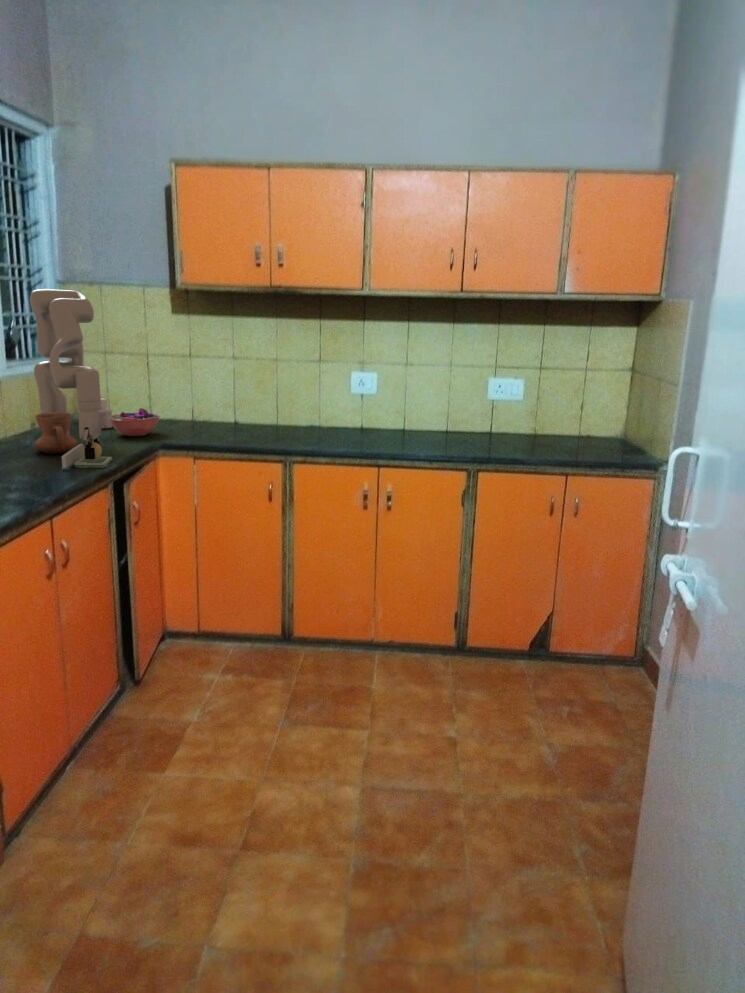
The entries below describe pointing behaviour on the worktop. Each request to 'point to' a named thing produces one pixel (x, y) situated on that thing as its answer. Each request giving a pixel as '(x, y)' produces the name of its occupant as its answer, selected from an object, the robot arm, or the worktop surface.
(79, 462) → the tray
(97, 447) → the ball
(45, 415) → the ceramic jug
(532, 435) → the worktop surface
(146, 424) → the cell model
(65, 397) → the robot arm
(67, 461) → the wall
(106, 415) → the container
